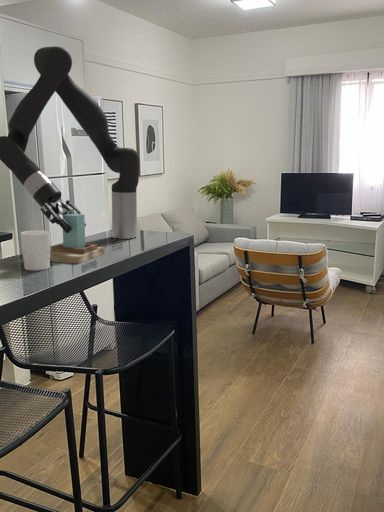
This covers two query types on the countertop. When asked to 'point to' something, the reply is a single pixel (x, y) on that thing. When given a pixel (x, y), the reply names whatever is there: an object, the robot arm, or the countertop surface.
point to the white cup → (36, 249)
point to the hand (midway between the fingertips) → (77, 229)
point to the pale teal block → (74, 231)
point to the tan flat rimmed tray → (75, 253)
